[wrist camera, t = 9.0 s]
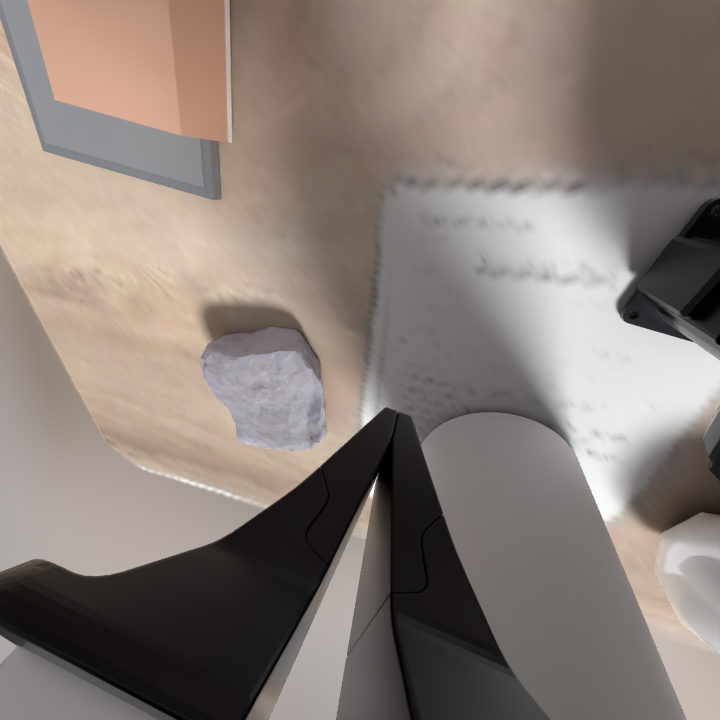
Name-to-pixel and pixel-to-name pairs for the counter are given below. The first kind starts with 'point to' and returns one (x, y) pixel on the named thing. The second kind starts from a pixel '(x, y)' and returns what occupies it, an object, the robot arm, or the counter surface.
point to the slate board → (105, 125)
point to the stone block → (268, 387)
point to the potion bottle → (693, 574)
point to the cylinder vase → (546, 569)
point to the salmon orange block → (142, 61)
